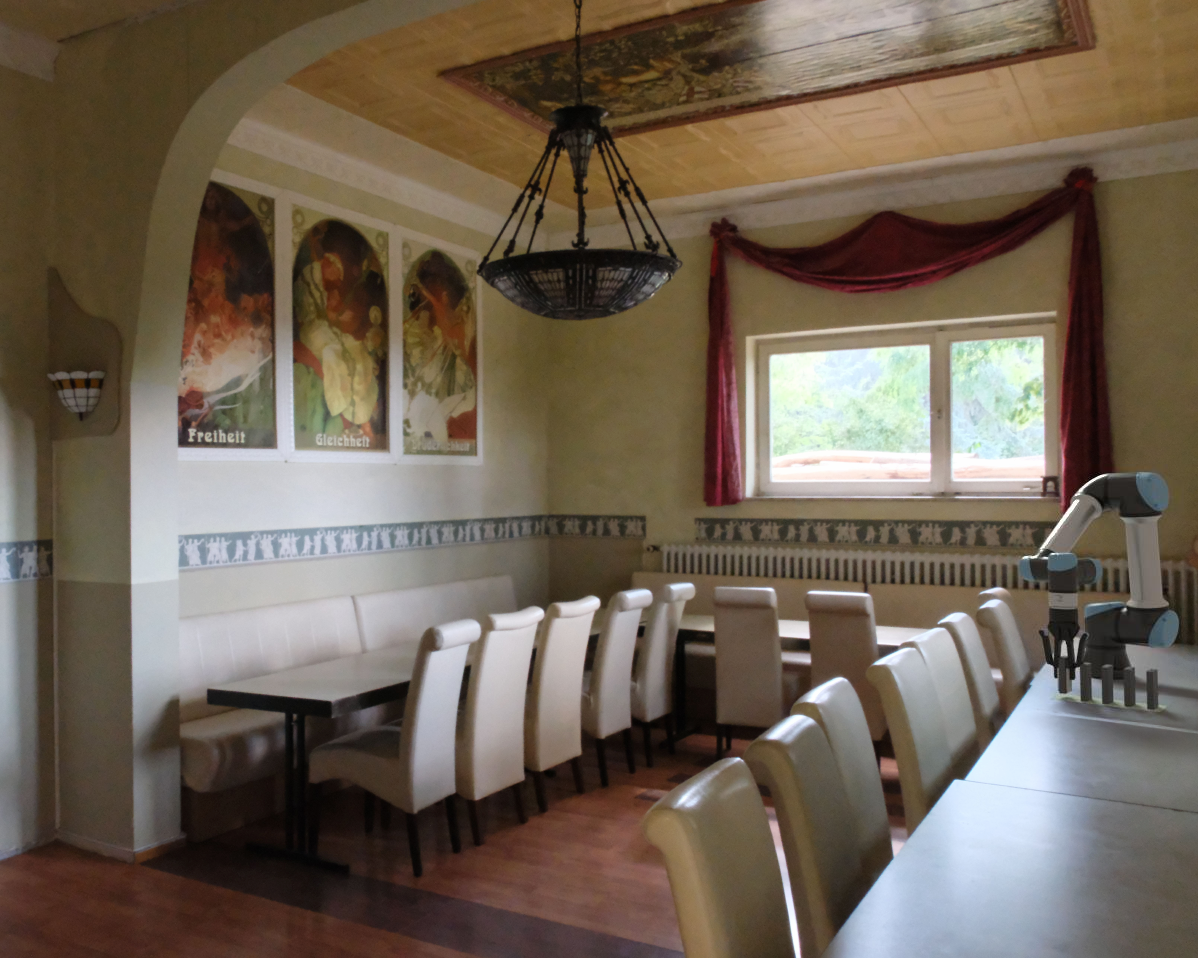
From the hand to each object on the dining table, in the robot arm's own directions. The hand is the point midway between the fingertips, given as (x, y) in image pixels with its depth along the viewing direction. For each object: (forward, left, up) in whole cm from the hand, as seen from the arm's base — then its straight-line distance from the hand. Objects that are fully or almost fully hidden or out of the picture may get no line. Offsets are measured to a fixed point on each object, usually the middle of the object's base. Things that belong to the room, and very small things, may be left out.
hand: (1064, 690), depth 275 cm
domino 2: (0, +6, -2) cm, 6 cm away
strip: (0, +11, -2) cm, 11 cm away
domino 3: (0, +11, -2) cm, 11 cm away
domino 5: (0, +22, -2) cm, 22 cm away
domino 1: (0, 0, 0) cm, 0 cm away
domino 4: (0, +17, -2) cm, 17 cm away
